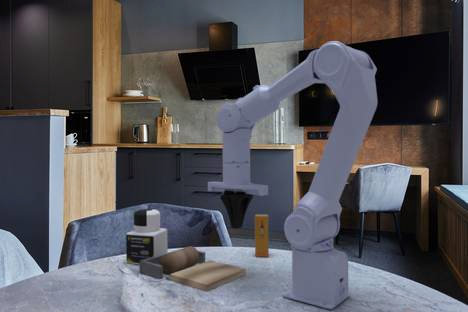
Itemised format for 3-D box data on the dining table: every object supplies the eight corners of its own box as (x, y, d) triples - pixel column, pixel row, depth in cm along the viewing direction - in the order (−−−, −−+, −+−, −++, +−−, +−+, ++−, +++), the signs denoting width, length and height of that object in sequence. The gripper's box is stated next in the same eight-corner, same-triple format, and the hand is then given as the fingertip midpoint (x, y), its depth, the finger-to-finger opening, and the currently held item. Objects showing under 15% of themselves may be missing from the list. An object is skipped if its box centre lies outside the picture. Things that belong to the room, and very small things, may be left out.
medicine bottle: (125, 263, 91) (125, 211, 91) (141, 255, 98) (141, 207, 98) (153, 266, 89) (153, 213, 89) (168, 257, 96) (167, 208, 96)
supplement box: (268, 253, 99) (268, 213, 99) (268, 257, 95) (268, 216, 95) (255, 253, 99) (255, 213, 99) (254, 257, 96) (254, 216, 96)
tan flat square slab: (245, 274, 83) (245, 268, 83) (207, 291, 74) (206, 284, 74) (205, 264, 90) (205, 259, 90) (165, 278, 81) (165, 272, 81)
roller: (181, 255, 92) (193, 269, 90) (156, 264, 85) (169, 279, 83) (189, 242, 90) (202, 255, 88) (165, 250, 83) (178, 264, 82)
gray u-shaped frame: (205, 263, 91) (205, 252, 91) (160, 278, 81) (159, 266, 80) (185, 258, 95) (185, 247, 95) (139, 272, 85) (139, 260, 85)
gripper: (276, 162, 81) (276, 228, 81) (222, 161, 90) (222, 220, 90) (256, 164, 76) (256, 234, 76) (200, 162, 85) (201, 225, 85)
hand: (236, 227), depth 83 cm, fingers closed
